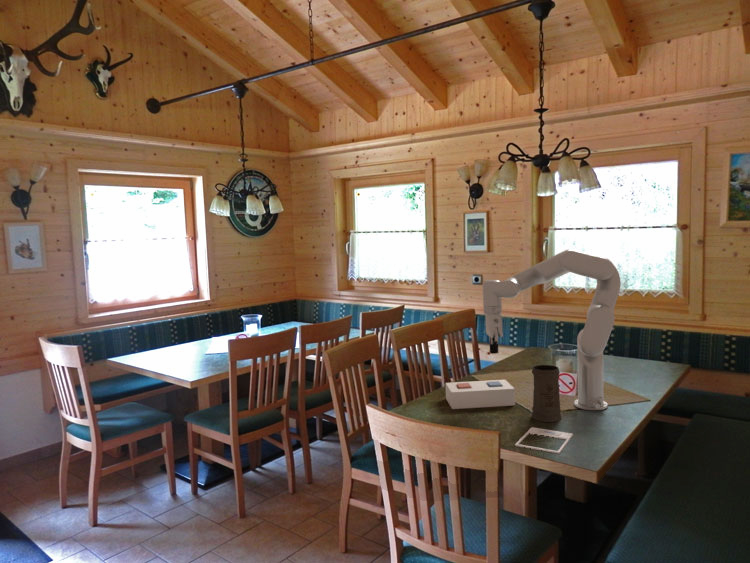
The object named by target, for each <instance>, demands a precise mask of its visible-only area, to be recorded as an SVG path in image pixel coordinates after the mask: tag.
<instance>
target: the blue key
mask: <svg viewBox="0 0 750 563" xmlns="http://www.w3.org/2000/svg"><path fill="white" fill-rule="evenodd" d="M487 385H488V386H489V387H502V384H501V383H500V382H499V381H495V382H487Z"/></svg>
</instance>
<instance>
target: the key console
mask: <svg viewBox="0 0 750 563" xmlns="http://www.w3.org/2000/svg"><path fill="white" fill-rule="evenodd" d="M495 381H499V382H500V383H501V384H502V387H489V386H488V385H487V382H495ZM458 383H469V384H470V386H471V388H468V389H458V388H457V384H458ZM445 399H446V401H447V402H448V404H449V406H450V408H451V409H452V410H461V409H476V408H494V407H507V406H509V407H510V406H516V392H515V387H514V386H512V384H511V383H510V382H508V381H507V379H493V380H489V379H487V380H475V381H473V380H472V381H457V382H456V381H455V382H454V381H453V382H445Z"/></svg>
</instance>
